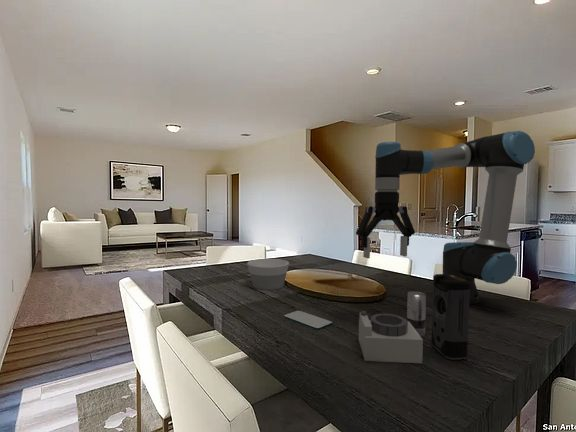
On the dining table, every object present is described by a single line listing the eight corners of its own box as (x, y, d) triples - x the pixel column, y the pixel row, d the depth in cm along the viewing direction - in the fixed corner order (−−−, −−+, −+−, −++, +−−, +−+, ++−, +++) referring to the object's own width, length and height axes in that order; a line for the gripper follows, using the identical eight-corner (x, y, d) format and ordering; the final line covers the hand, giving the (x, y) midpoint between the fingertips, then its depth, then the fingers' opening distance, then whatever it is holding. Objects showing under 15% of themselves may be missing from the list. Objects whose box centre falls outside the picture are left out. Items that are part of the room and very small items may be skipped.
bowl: (296, 284, 156) (297, 261, 155) (273, 294, 140) (273, 268, 139) (263, 278, 166) (263, 257, 165) (238, 287, 150) (238, 263, 149)
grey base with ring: (408, 342, 94) (409, 310, 94) (422, 363, 82) (423, 327, 82) (358, 340, 95) (359, 308, 95) (364, 360, 83) (365, 325, 83)
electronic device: (428, 344, 93) (431, 273, 92) (449, 343, 93) (451, 273, 92) (447, 360, 84) (450, 282, 82) (470, 360, 84) (473, 282, 83)
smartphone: (282, 318, 114) (317, 331, 102) (282, 315, 114) (317, 328, 102) (298, 312, 119) (333, 324, 107) (298, 310, 119) (333, 322, 107)
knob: (421, 329, 103) (423, 291, 103) (427, 336, 98) (428, 296, 97) (404, 328, 104) (405, 291, 103) (409, 336, 98) (410, 296, 98)
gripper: (412, 191, 114) (411, 253, 115) (346, 191, 107) (345, 256, 108) (427, 191, 107) (425, 257, 108) (357, 190, 100) (355, 260, 101)
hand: (385, 256), depth 108 cm, fingers open, 13 cm apart
